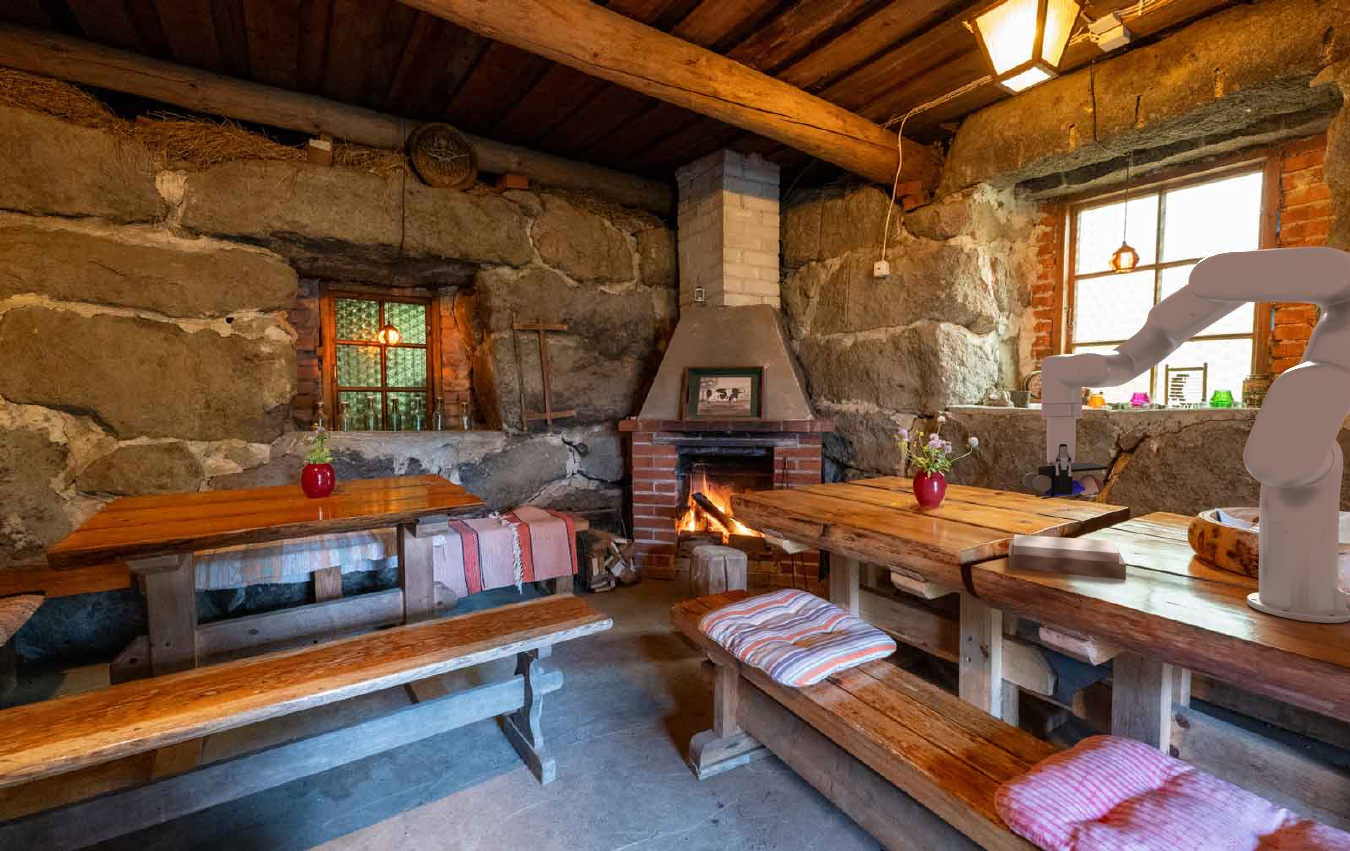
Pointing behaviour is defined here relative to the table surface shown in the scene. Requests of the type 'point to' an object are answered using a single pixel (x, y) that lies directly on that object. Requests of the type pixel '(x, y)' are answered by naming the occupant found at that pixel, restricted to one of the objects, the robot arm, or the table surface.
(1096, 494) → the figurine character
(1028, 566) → the plinth
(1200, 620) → the table surface
